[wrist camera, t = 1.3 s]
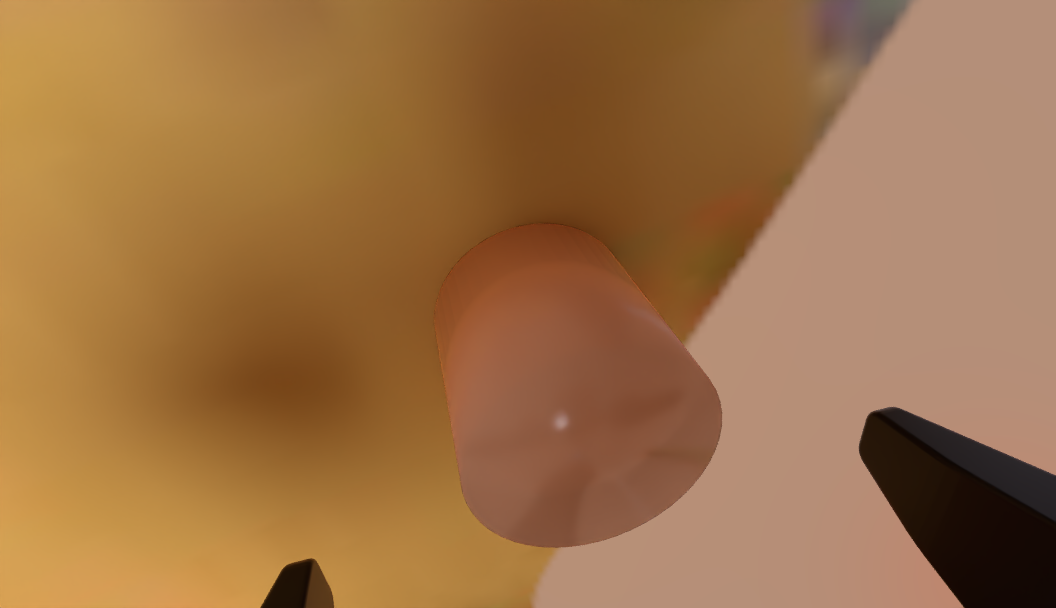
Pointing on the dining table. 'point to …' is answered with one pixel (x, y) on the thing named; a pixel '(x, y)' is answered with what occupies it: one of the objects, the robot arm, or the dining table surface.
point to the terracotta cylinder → (566, 390)
